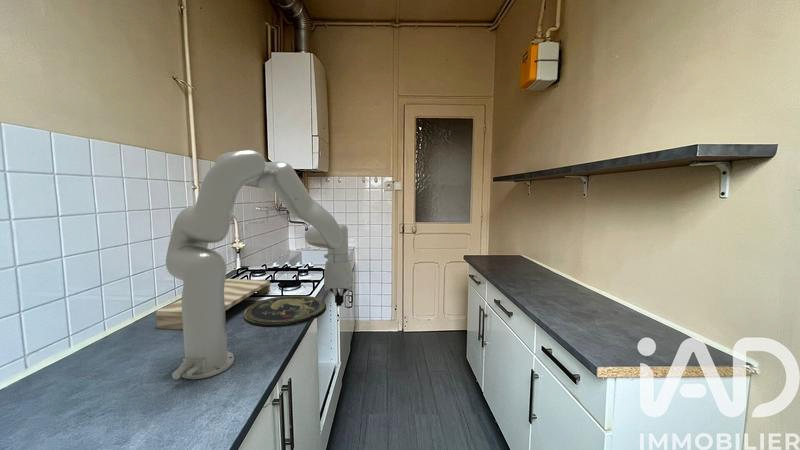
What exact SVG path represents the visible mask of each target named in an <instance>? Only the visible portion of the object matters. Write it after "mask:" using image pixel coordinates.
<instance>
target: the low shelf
mask: <svg viewBox="0 0 800 450" xmlns="http://www.w3.org/2000/svg"><path fill="white" fill-rule="evenodd" d="M255 292H257V293H269V292H270V293H271V280H270V279H245V278H238V279H237V278H225V286H224V301H225V311H228V310H229V309H230V308H232V307H234V306H235V305H237V304H239V303H240V302H242V301H243V300H245V299H247V298H249V297H250V296H252V295H255V294H254V293H255ZM155 314H156V325H157V326H156V328H157V329H165V330H167V329H170V330H183V320H182V307H181V299H180V300H179V299H178V300H177V301H175V302H173V303H170V304H169V305H166V306H164V307H162V308H160V309H157V310H156V311H155Z"/></svg>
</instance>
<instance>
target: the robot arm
mask: <svg viewBox="0 0 800 450" xmlns="http://www.w3.org/2000/svg"><path fill="white" fill-rule="evenodd" d="M244 186H247V187H252V188H258V189H265V190H267V189H268V190H273V191H274V193H275V194H276V195H277V197H278V198H279V199H280V201H281V202H282V204H283V205H284V206H285V208H286V210H287V211H288V212H289V214H291V215H292V216H293V217H296V218H297V219H300V220H302V221H303V222H306V223H308V224H309V225H310V226H311V227H309V228H308V229H307V230H306V232H305V234H304V239H305V242H306V243H307V245H310V246H312V247H315V248H322V249H327V253H324V255H323V257H324V259H325V258H326V259H327V260H326V261H325V264H324V271H323V272H324V273H323V276H324V277H323V278H324V279H323V285H324V290H325V291H326V290H327V291H329V292H331V293H332V294H333V296H334V303H335V305H336V307H338V306H339V307H341V306H342V305H343V304H344V302H345V300H344V299H345V298H344V295H345V293H347V292H349V291H353V289H354V286H353V283H354V282H353V281H354V280H353V269H352V263H351V260H350V259H349V229H348V226H347V224H341V223H340V224H339V223H338V222H337V220H336V218H335V217H334V216H333V215H332V214H331V213H330V212H329V211H328V210H327V209H325V208H324V207H323V206H322V205H321V204H319V202H317V201H316V200H314V199H313V197H312V196H311V195H310V193H309V191H308V189H307V188H306V187H305V185H304V184H303V182H302V180H301V179H300V177H299V176H298V173H297V172H296V171H295V169H294V168H293V166H292V165H291V164H289V162H285V161H266V159H265V157H264V155H263V154H262V153H260V152H258V151H256V150H253V149H243V150H237V151H228V152H225V153H223V154H220V155H219V156H218V157H217V158H216V160H215V162H214V165H213V166H212V167H211V168H210V169H209V170H208V171H207V172H206V174H205V176H204V177H203V180H202V182H201V185H200V189H199V191H198V195H197V199H196V202H195V205H191V206H188V207H185V208H184V209H183V210H181V211H180V212H179V213H178V215H177V216H176V218H175V221H174V222H173V226H172V230H171V235H170V239H169V242H168V247H167V251H166V258H165V267H166V270H167V273H169V274H170V275H171V276H172V277H174V278H176V279H178V280H180V281H182V282H183V283H182V285H183V286H182V293H181V299H180V300H181V307H182V320H183V329H182V331H183V334H182V335H183V347H184V358H182V363H181V364H180V365H179V366H178V368H177V369H176V370H175V371H173V372H172V373H171V377H172V378H173V379H174V380H178V379H180V378H184V379H186V380H200V379H207V378H211V377H213V376H216V375H218V374H221V373H224V372H225V371H227V370H228V369H229V368H230V367H231V366H232V365H233V364H234V363H235V355H234V354H233V352H230V351H228V343H227V324H226V321H227V320H226V310H225V301H224V286H225V280H226V279H227V278H226V277H227V276H226V275H227V264H226V261H225V259H224V257H223V256H222V255H221V253H219V252H218V251H216V250H214V249H211V248H208V247H209V244H216V243H220V242H221V241H223V240H225V238H227V235H228V234H229V230H230V227H231V222H232V219H233V213H234V208H235V204H236V200H237V198H238V194H239V192H240V190H241V189H242V188H243V187H244Z"/></svg>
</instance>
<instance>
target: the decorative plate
mask: <svg viewBox="0 0 800 450" xmlns="http://www.w3.org/2000/svg"><path fill="white" fill-rule="evenodd" d="M326 311H327V304H326V302H325V301H324V300H322V299H321V298H318V297H315V296H310V295H295V294H294V295H293V294H292V295H282V296H275V297H274V296H273V297H270V298H266V299H263V300H259V301H258V302H255V303H253V304H251V305H249V306H248V307H247V308H246V309H245V310H244V312H243V316H242V317H243V319H244V321H246V322H247V323H249V324H250V325H252V326H258V327H264V328H282V327H289V326H290V327H291V326H295V325H301V324H304V323H307V322H311V321H314V320H315V319H317V318H319V317H321V316H322V315H323V314H325V312H326Z"/></svg>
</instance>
